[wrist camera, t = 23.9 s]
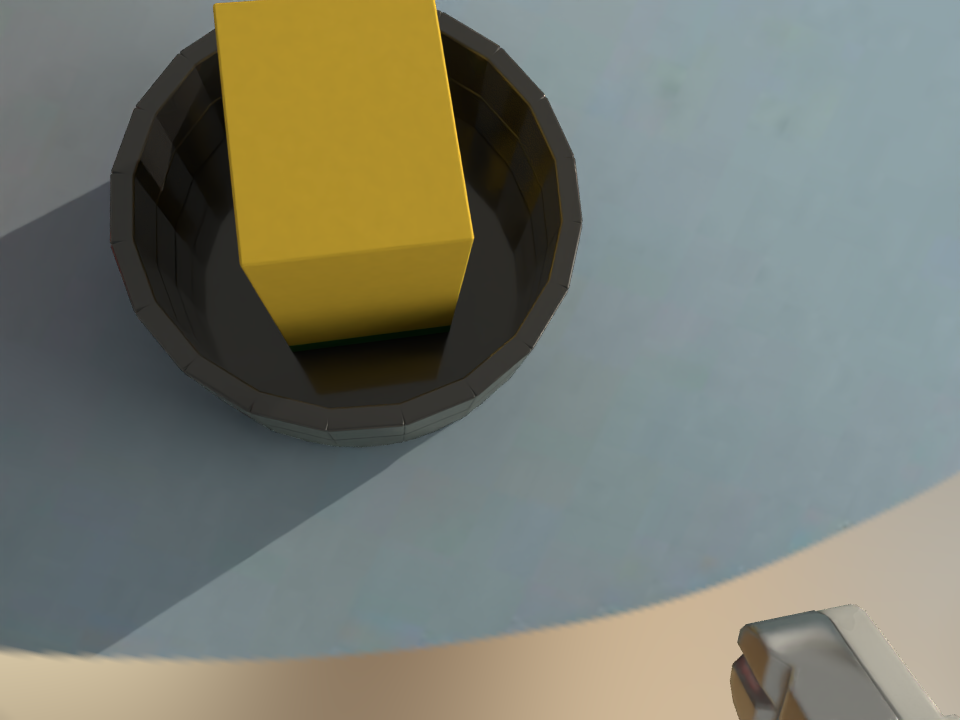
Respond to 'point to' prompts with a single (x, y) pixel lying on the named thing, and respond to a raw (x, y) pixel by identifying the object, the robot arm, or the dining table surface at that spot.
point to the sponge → (344, 166)
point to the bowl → (364, 366)
